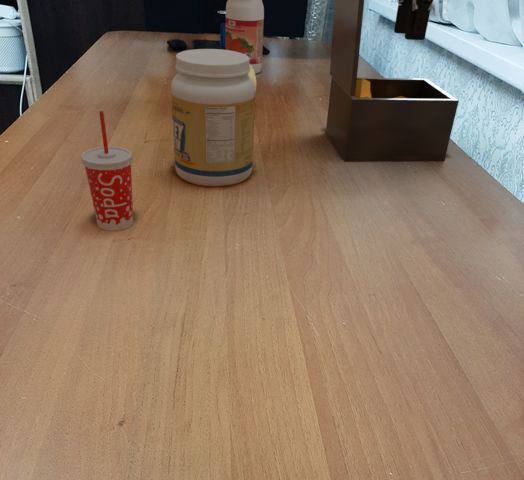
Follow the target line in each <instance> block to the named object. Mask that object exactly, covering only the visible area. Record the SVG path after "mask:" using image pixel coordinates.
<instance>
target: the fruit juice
mask: <svg viewBox="0 0 524 480" xmlns="http://www.w3.org/2000/svg"><path fill="white" fill-rule="evenodd" d="M264 19H265V7H264V3H263V0H227V1H226V4H225V50H230V51H235V52H239V53H243V54H245V55H247V56H248V57H249V63H250V64H251V66H252V68H253V70H254V72H255V75H256V74H259V73H261V72H262V69H263V49H264V46H263V45H264V25H265V24H264V23H265V21H264Z"/></svg>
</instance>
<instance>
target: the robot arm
mask: <svg viewBox="0 0 524 480" xmlns="http://www.w3.org/2000/svg"><path fill="white" fill-rule="evenodd" d="M397 1H398V5H397V11H396V17H395V23H394V29H393V32H394V33H395V34H404V39H405V40H408V41H410V40H411V41H424V40H425V39H426V35H427V29H428V24H429V19H430V14H431V11H432V9H433V2H434V0H397Z"/></svg>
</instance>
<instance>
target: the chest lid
mask: <svg viewBox="0 0 524 480" xmlns="http://www.w3.org/2000/svg"><path fill="white" fill-rule="evenodd" d="M364 9H365V0H334V9H333V23H332V36H331V37H332V39H331V50H330V51H331V53H330V66H329V68H330V69H329V75H330V76H331V78H332V77H333V78H334V79H335V80H336V81H337V83H338V84H339V85H340V86H341V87H342V88H343V89H344V90H345V91H346V92H347V93H348V94H349V95H350V96H355V93H356V82H357V78H358V72H359V71H358V70H359V59H360V52H361V51H360V49H361V42H362V41H361V40H362V28H363V21H364V20H363V19H364Z"/></svg>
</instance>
